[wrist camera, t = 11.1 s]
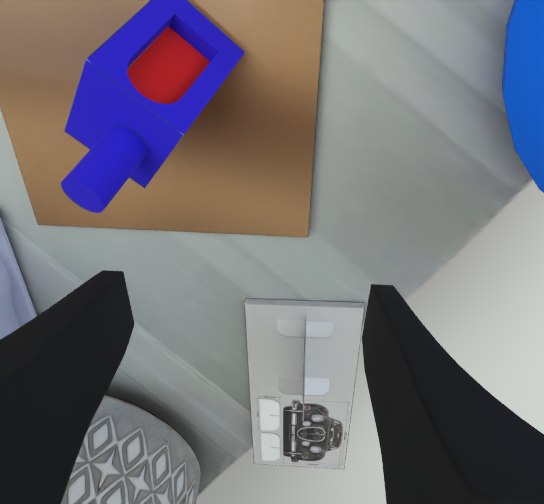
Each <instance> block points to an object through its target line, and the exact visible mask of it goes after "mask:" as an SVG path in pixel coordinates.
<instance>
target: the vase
mask: <svg viewBox="0 0 544 504" xmlns="http://www.w3.org/2000/svg"><path fill="white" fill-rule="evenodd" d="M502 88H503V97H504V102H505V106H506V111H507V116H508V120H509V125H510V130H511V134H512V139H513V144H514V148H515V150H516V152H517V154H518V155H519V157H520V159H521V160H522V162H523V163H524V165H525V167H526V168H527V170H528V172H529V173H530V175H531V176H532V178H533V180H534V181H535V183H536V184H537V186H538V188H539V189H540V190H541V191H542V192H544V0H514V3H513V6H512V10H511V13H510V16H509V19H508V22H507V27H506V41H505V54H504V67H503V80H502Z"/></svg>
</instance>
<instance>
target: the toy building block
mask: <svg viewBox="0 0 544 504" xmlns="http://www.w3.org/2000/svg"><path fill="white" fill-rule="evenodd" d="M244 53H245V51H244V50H242V49H241V48H240V47H239V46H238V45H237V44H236V43H235V42H233V41H232V40H231V39H230V38H229V37H228V36H227V35H226V34H225V33H223V32H222V31H221V30H220V29H219V28H218V27H217V26H216V25H215V24H213V23H212V22H211V21H210V20H209V19H208V18H207V17H206V16H204V15H203V14H202V13H201V12H200V11H199V10H198V9H197V8H196V7H194V6H193V5H192V4H191V3H190V2H189V1H188V0H150V1H149V2H148V3H147V4H146V5H145V6H143V7H142V8H141V9H140V10H139V11H138V12H137V13H136V14H135V15H134V16H132V17H131V18H130V19H129V20H128V21H127V22H126V23H125V24H124V25H123V26H122V27H120V28H119V29H118V30H117V31H116V32H115V33H114V34H113V35H112V36H111V37H110V38H108V39H107V40H106V41H105V42H104V43H103V44H102V45H101V46H100V47H99V48H97V49H96V50H95V51H94V52H93V53H92V54H91V55H90V56H89V57H88V58H87V59H86V60H85V63H84V67H83V70H82V73H81V77H80V80H79V83H78V87H77V90H76V93H75V97H74V100H73V103H72V107H71V110H70V113H69V117H68V120H67V123H66V127H65V130H64V131H65V132H66V133H67V134H69V135H70V136H72V137H73V138H74V139H76V140H77V141H79V142H80V143H81V144H83V145H84V146H86V147H87V148H89V149H90V151H89V152H88V153H87V154H86V155H85V156H84V157H83V158H82V159H81V161H80V162H79V163H78V164H77V165H76V166H75V167H74V168H73V169H72V171H71V172H70V173H69V174H68V175H67V176H66V177H65V178H64V179H63V181H62V182H61V187H62V189H63V191H64V193H65V194H66V195H67V196H68V198H69V199H71V200H72V201H73V202H74V203H75V204H77V205H78V206H80V207H81V208H83V209H85V210H87V211H90V212H94V213H101V212H102V211H103V210H104V209H105V208H106V207H107V205H108V204H109V203H110V201H111V200H112V199H113V198H114V196H115V195H116V194H117V193H118V191H119V190H120V189H121V187H122V186H123V185H124V184H125V182H126V181H127V180H128V178H131V179H132V180H133V181H135V182H136V183H138V184H139V185H141V186H142V187H143V188H146V186H147V185H148V184H149V182H150V181H151V180H152V178H153V177H154V176H155V174H156V173H157V172H158V170H159V169H160V167H161V166H162V165H163V163H164V162H165V161H166V159H167V158H168V157H169V155H170V154H171V153H172V151H173V150H174V149H175V147H176V146H177V144H178V143H179V142H180V140H181V139H182V138H183V136H184V135H185V134H186V132H187V131H188V130H189V128H190V127H191V125H192V124H193V123H194V121H195V120H196V119H197V117H198V116H199V114H200V113H201V112H202V110H203V109H204V108H205V106H206V105H207V104H208V102H209V101H210V99H211V98H212V97H213V95H214V94H215V93H216V91H217V90H218V89H219V87H220V86H221V84H222V83H223V82H224V80H225V79H226V78H227V76H228V75H229V74H230V72H231V71H232V70H233V68H234V67H235V66H236V64H237V63H238V61H239V60H240V59H241V57H242V56H243V55H244Z"/></svg>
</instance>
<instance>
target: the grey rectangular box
mask: <svg viewBox="0 0 544 504" xmlns="http://www.w3.org/2000/svg"><path fill="white" fill-rule="evenodd" d="M363 315H364V303H354V302H325V301H296V300H266V299H245V321H246V338H247V355H248V372H249V389H250V407H251V424H252V441H253V458H254V464H264V465H281V466H298V467H314V468H331V469H344V468H345V460H346V451H347V443H348V436H349V427H350V419H351V411H352V403H353V395H354V387H355V379H356V370H357V363H358V355H359V347H360V338H361V331H362V323H363Z"/></svg>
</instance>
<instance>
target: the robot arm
mask: <svg viewBox="0 0 544 504" xmlns="http://www.w3.org/2000/svg"><path fill="white" fill-rule="evenodd" d="M133 327H134V320H133V315H132V311H131V306H130V301H129V297H128V292H127V287H126V282H125V278H124V273H123V272H122V271H101V272H100V273H98V274H97V275H95V276H94V277H92V278H91V279H89V280H88V281H87V282H85V283H84V284H82V285H81V286H80V287H78V288H77V289H75V290H74V291H73V292H71V293H70V294H68V295H67V296H66V297H64V298H63V299H61V300H60V301H59V302H57V303H56V304H54V305H53V306H51V307H50V308H49V309H47V310H46V311H44V312H43V313H41V314H40V315H38V316H37V315H36V312H35V309H34V307H33V304H32V301H31V299H30V296H29V293H28V290H27V288H26V285H25V282H24V280H23V277H22V274H21V272H20V269H19V266H18V264H17V261H16V258H15V255H14V253H13V250H12V247H11V245H10V242H9V239H8V237H7V234H6V231H5V229H4V226H3V223H2V220H1V218H0V504H61V502H62V499H63V496H64V493H65V491H66V488H67V485H68V482H69V479H70V476H71V473H72V470H73V467H74V465H75V462H76V459H77V457H78V454H79V451H80V448H81V446H82V443H83V440H84V438H85V435H86V433H87V431H88V428H89V426H90V424H91V422H92V419H93V417H94V415H95V413H96V411H97V409H98V407H99V405H100V403H101V401H102V399H103V397H104V395H105V393H106V391H107V389H108V387H109V385H110V383H111V381H112V379H113V377H114V375H115V373H116V371H117V369H118V367H119V365H120V363H121V361H122V358H123V356H124V354H125V351H126V348H127V346H128V343H129V340H130V336H131V333H132V330H133ZM362 342H363V356H364V367H365V373H366V379H367V383H368V388H369V393H370V398H371V403H372V408H373V412H374V417H375V422H376V426H377V432H378V436H379V442H380V448H381V454H382V462H383V472H384V481H385V491H386V502H387V504H544V434H542V433H541V432H539V431H538V430H537V429H535V428H534V427H532V426H531V425H530V424H528V423H527V422H526V421H524V420H523V419H521V418H520V417H519V416H517V415H516V414H515V413H514V412H512V411H511V410H510V409H509V408H507V407H506V406H505V405H504V404H502V403H501V402H500V401H498V400H497V399H496V398H495V397H494V396H492V395H491V394H490V393H489V392H488V391H486V390H485V389H484V388H483V387H482V386H481V385H480V384H479V383H478V382H477V381H475V380H474V379H473V378H472V377H471V376H470V375H469V374H468V373H467V372H466V371H465V370H463V368H461V367H460V366H459V365H458V364H457V363H456V361H455V360H454V359H453V358H452V357H451V356H450V355H449V354H448V353H447V352H446V351H445V350H444V349H443V347H442V346H441V345H440V344H439V343H438V342H437V341H436V340H435V338H434V337H433V336H432V335H431V334H430V332H429V331H428V330H427V329H426V328H425V326H424V325H423V324H422V323H421V321H420V320H419V319H418V318H417V316H416V315H415V314H414V312H413V311H412V310H411V309H410V307H409V306H408V305H407V303H406V302H405V300H404V299H403V298H402V296H401V295H400V294H399V292H398V291H397V290H396V288H395V287H394V286H393V285H375V284H371V289H370V295H369V300H368V306H367V312H366V318H365V324H364V329H363V336H362Z"/></svg>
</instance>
